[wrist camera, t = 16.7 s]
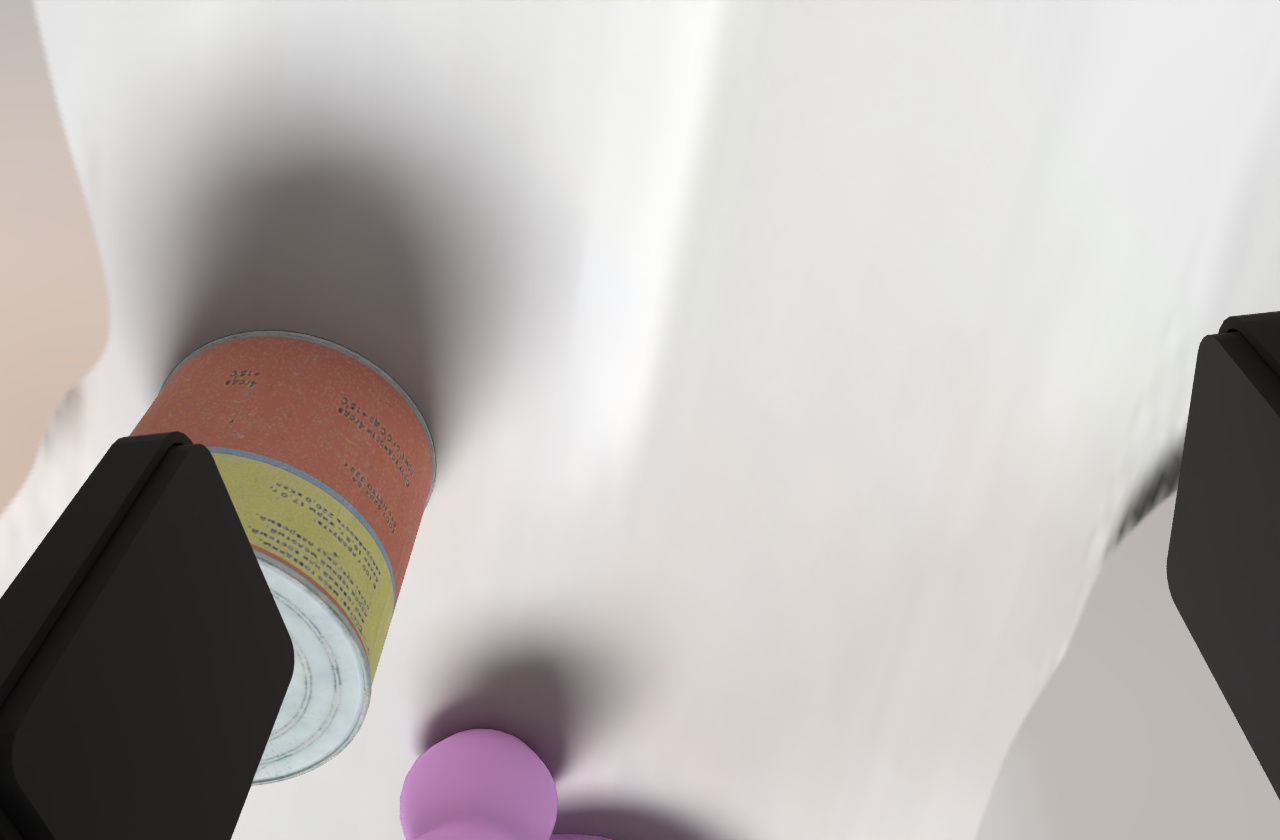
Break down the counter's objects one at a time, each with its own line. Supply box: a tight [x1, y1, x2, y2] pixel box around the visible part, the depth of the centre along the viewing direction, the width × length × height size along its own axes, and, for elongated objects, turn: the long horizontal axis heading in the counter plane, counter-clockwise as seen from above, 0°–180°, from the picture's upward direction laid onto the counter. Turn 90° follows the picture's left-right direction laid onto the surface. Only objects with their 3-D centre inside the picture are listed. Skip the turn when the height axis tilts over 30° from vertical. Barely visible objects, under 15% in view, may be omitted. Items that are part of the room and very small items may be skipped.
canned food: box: [130, 331, 436, 786], centre depth 41 cm, size 11×11×12 cm
